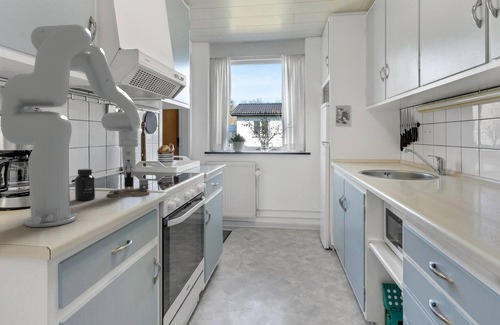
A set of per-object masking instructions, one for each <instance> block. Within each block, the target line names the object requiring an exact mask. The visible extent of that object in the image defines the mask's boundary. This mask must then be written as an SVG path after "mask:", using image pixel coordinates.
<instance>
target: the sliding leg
mask: <svg viewBox="0 0 500 325" xmlns="http://www.w3.org/2000/svg"><path fill="white" fill-rule="evenodd" d="M123 174H124V176H123V178H124V188H123V189H125V190H133V189H135V186H134V184H133V187H125V170H124V169H123ZM132 177H133V178H134V169H132Z"/></svg>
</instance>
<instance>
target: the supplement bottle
mask: <svg viewBox="0 0 500 325" xmlns="http://www.w3.org/2000/svg"><path fill="white" fill-rule="evenodd" d="M95 183H96V179H95V177H94V176H93V170H92V169H91V168H79V169H77V176H75V178H74V199H75V201H77V202H87V201H93V200H95V197H96V187H95V186H96V184H95Z"/></svg>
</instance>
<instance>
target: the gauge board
mask: <svg viewBox="0 0 500 325" xmlns="http://www.w3.org/2000/svg"><path fill="white" fill-rule="evenodd" d="M138 181H139V182H138V186H139V187H138V188H135V187H134V189H133V190H125V189H124V188H118V189H117V188H116V189H115V188H114V189H109V190H108V193H107V194H108V195H107V196H108V198H116V197H118V198H119V196H121V197H136V196H150V189H149V179H148V178H139V180H138Z"/></svg>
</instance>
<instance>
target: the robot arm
mask: <svg viewBox="0 0 500 325" xmlns="http://www.w3.org/2000/svg"><path fill="white" fill-rule="evenodd" d="M30 41H31V43H32V45H33V47H34V49H35V50H36V54H35V59H34V60H35V62H34V67H33V71H32V72H31V73H19V74H15V75H12V76H10V77H9V78H8V79H7V80H6V82H5V84H4V85H3V91H2V92H3V93H2V101H1V102H2V103H1V113H0V130H1V134H2V136H3V137H4V139H5V140H6V141H8V142H9V143H11V144H13V145H18V146H19V145H22V146H24V145H25V146H26V145H27V146H34V147H33V149H32V151H31V153H30V155H29V157H28V178H29V182H28V183H29V204H30V206H29V207H30V217H27V218H25V219H24V222H23V223H24V225H25V226H26V227H31V228H45V227H53V226H54V227H56V226H60V225H65V224H69V223H72V222H74V221H75V220H77V214H76V213H74V212H71V196H70V195H71V194H70V191H71V190H70V169H69V168H70V167H69V166H70V165H69V155H70V154H69V150H70V142H71V137H72V130H73V129H72V128H73V127H72V124H71V121H70V120H69V118H68V117H67V116H65V115H64V114H63V113H60V112H55V111H49V110H48V111H43V110H42V111H40V110H39V111H38V110H37V111H36V108H38V109H39V108H40V109H42V108H43V109H44V108H46V109H48V108H50V109H51V108H52V109H53V108H60V107H63V106H64V105H65V104H66V103H67V101H68V98H69V97H68V96H69V87H70V86H69V85H70V73H71V71H73V72H74V71H75V72H77V71H79V72H81V71H83V73H84V74H85V77H86V79H87V82H88V83H89V86H90V89H91V90H92V93H93V94H94V95H95V96H97V97H100V98H101V99H105V100H106V101H107V100H108V101H109V102H112V103H113V104H115V105H116V106H118V107H119V108H120V109H121V110H122V111H123V112H122V111H121V112H112V111H111V112H107V113H105V114H103V116H102V118H101V121H100V122H101V125H102V127H103V128H104V129H105V130H107V131H109V132H118V148H121V154H122V155H121V156H122V157H121V159H122V168H123V169H122V170H123V171H124V170H125V187H133V185H134V176H133V177H132V170H133V171H137V165H136V164H137V162H136V161H137V160H136V159H137V156H136V155H137V154H136V153H137V152H136V151H137V150H136V148H139V146H138V145H139V139H138V137H139V136H138V130H139V128H140V126H141V119H140V114H139V111H138V108H137V106H136V103H135V102H134V101H133V100H132V98H131V97H130V96H129V95H128V94H127V93H126V92H125V91H123V90H122V89H121V88H119V86H118V85H117V84H116V80H115V77H114V75H113V73H112V72H113V71H112V70H111V67H110V64H109V61H108V60H107V57H106V53H105V52H104V50H103V49H102V48H101V47H100V46H97V45H95V44H92V34H91V31H90V30H89V29H88V28H87V27H85V26H83V25H80V24H61V25H41V26H37V27H35V28H34V29H33V30H32V32H31V34H30Z"/></svg>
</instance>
